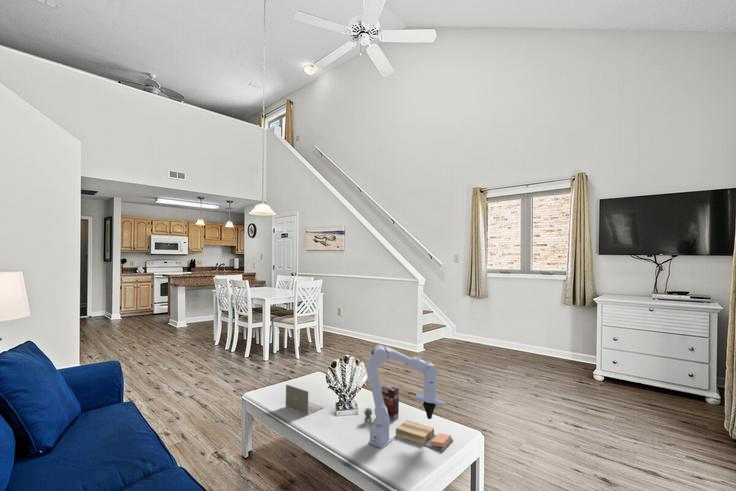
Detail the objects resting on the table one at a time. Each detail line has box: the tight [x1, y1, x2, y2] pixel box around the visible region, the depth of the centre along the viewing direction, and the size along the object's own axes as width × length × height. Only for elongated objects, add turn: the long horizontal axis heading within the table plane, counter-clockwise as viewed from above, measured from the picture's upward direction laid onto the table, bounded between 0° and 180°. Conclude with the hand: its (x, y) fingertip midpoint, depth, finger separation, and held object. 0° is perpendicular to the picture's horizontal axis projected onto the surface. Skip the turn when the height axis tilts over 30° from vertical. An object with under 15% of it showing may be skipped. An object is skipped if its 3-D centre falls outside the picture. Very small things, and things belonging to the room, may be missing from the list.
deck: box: [395, 419, 435, 446], centre depth 179 cm, size 11×15×4 cm
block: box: [431, 432, 452, 448], centre depth 171 cm, size 9×6×2 cm, turn 145°
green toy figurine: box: [362, 407, 374, 424], centre depth 192 cm, size 12×12×8 cm
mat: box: [423, 434, 454, 453], centre depth 172 cm, size 12×9×1 cm
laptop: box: [285, 384, 324, 416], centre depth 210 cm, size 18×12×13 cm
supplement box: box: [381, 384, 400, 421], centre depth 199 cm, size 9×5×16 cm, turn 50°
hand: (429, 418), depth 175 cm, fingers closed
